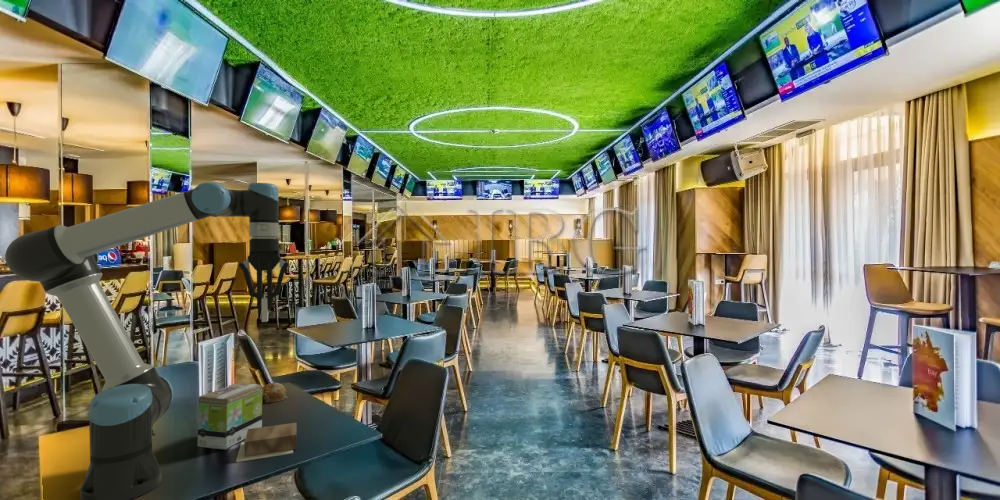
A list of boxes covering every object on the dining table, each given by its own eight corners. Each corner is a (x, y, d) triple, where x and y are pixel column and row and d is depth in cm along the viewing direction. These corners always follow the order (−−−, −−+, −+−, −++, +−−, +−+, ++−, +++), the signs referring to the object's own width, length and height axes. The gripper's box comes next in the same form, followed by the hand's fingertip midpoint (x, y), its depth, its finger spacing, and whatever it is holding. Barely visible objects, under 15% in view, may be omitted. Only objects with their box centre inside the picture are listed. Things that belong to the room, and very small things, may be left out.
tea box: (227, 450, 136) (226, 398, 136) (196, 447, 138) (196, 396, 138) (263, 430, 150) (263, 383, 150) (235, 428, 152) (235, 381, 152)
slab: (296, 449, 135) (244, 457, 130) (296, 436, 144) (248, 443, 139) (296, 434, 135) (244, 442, 130) (296, 422, 144) (247, 429, 139)
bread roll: (283, 411, 178) (293, 390, 180) (255, 404, 173) (265, 382, 175) (279, 403, 187) (289, 383, 188) (252, 396, 182) (262, 376, 183)
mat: (235, 462, 128) (235, 460, 128) (241, 443, 140) (241, 442, 140) (293, 453, 134) (293, 452, 134) (293, 436, 146) (293, 434, 146)
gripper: (236, 237, 130) (237, 324, 130) (289, 238, 135) (289, 321, 135) (239, 238, 137) (240, 320, 137) (289, 238, 142) (290, 317, 142)
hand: (264, 321), depth 136 cm, fingers closed
